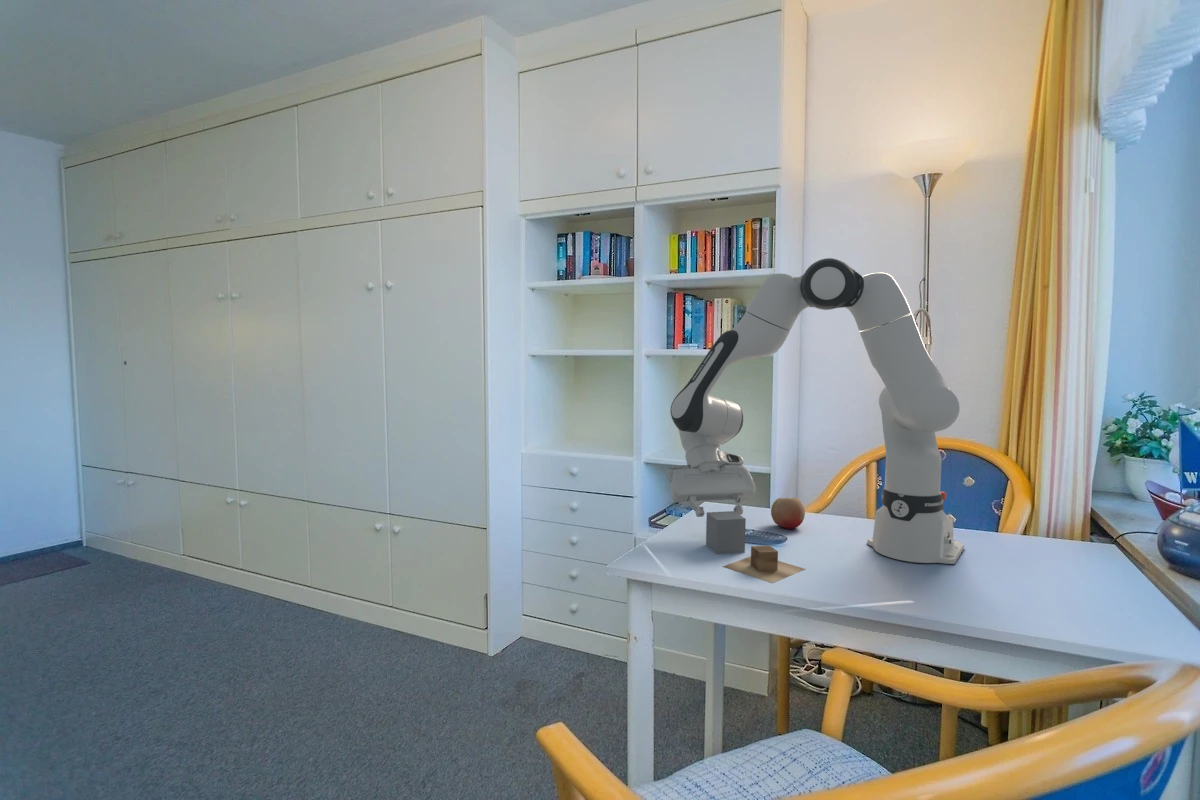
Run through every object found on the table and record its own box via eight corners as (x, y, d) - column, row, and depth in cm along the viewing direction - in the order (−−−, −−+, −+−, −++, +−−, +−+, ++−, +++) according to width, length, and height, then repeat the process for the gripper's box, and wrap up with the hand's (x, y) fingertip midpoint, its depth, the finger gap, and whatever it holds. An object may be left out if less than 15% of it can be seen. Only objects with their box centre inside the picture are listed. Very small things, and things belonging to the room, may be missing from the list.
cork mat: (756, 556, 137) (756, 554, 137) (805, 570, 128) (805, 568, 128) (722, 568, 129) (722, 566, 129) (772, 585, 120) (772, 583, 120)
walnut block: (750, 565, 130) (751, 546, 130) (768, 563, 131) (768, 545, 131) (759, 571, 126) (759, 552, 126) (777, 570, 127) (778, 551, 127)
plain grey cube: (705, 546, 144) (706, 512, 143) (732, 544, 145) (733, 511, 144) (716, 555, 137) (717, 520, 136) (744, 554, 138) (745, 518, 138)
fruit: (796, 523, 164) (797, 493, 163) (808, 532, 156) (809, 500, 155) (766, 523, 163) (767, 493, 163) (777, 532, 155) (778, 500, 155)
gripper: (668, 458, 148) (680, 509, 139) (748, 456, 152) (765, 505, 143) (662, 473, 153) (673, 523, 144) (740, 471, 157) (756, 519, 148)
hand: (720, 514), depth 144 cm, fingers open, 8 cm apart
